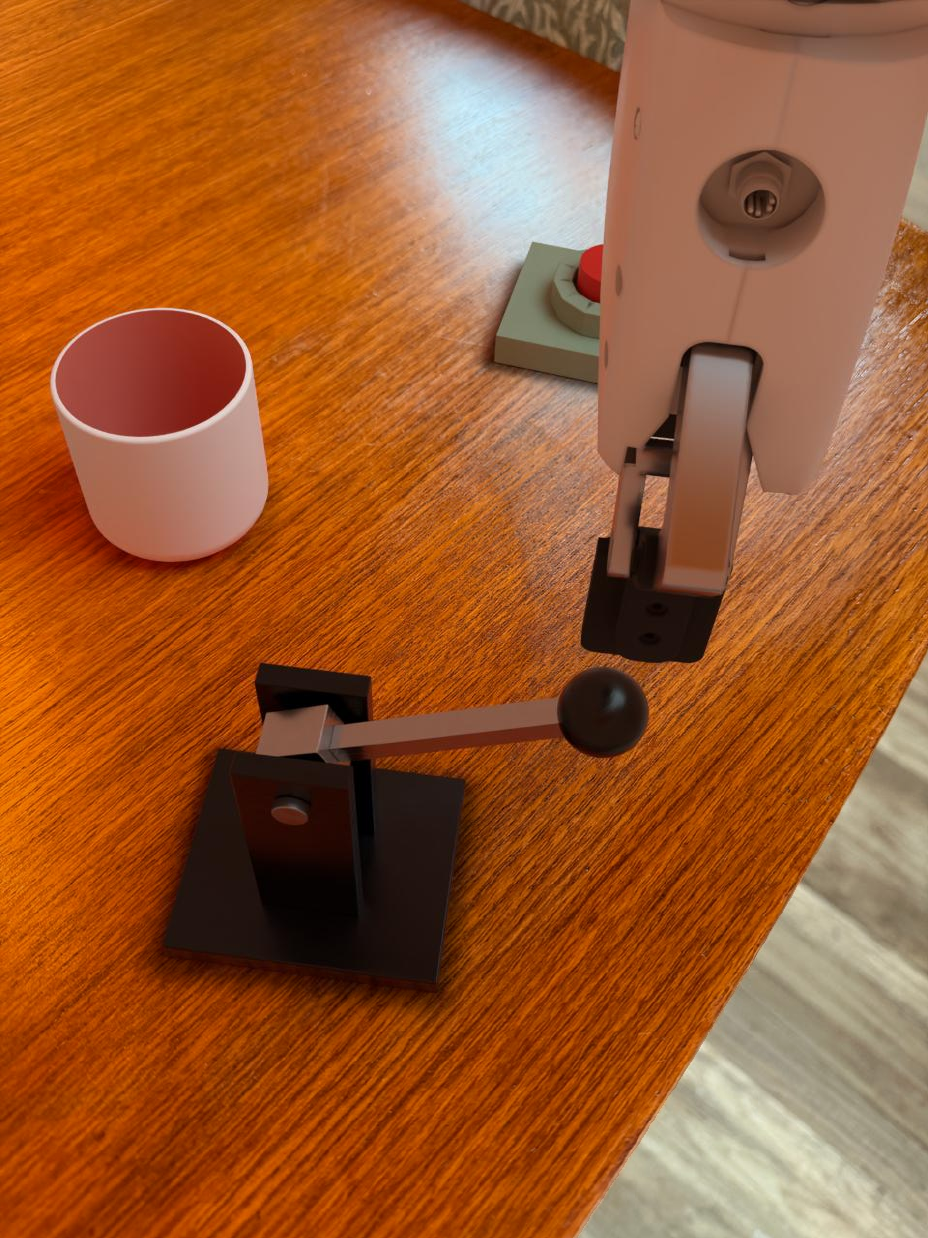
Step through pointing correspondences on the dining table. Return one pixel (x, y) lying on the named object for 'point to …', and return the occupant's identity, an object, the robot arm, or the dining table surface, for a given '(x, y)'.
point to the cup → (163, 431)
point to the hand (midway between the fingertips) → (645, 528)
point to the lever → (472, 725)
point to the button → (591, 273)
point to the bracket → (319, 856)
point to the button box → (550, 318)
